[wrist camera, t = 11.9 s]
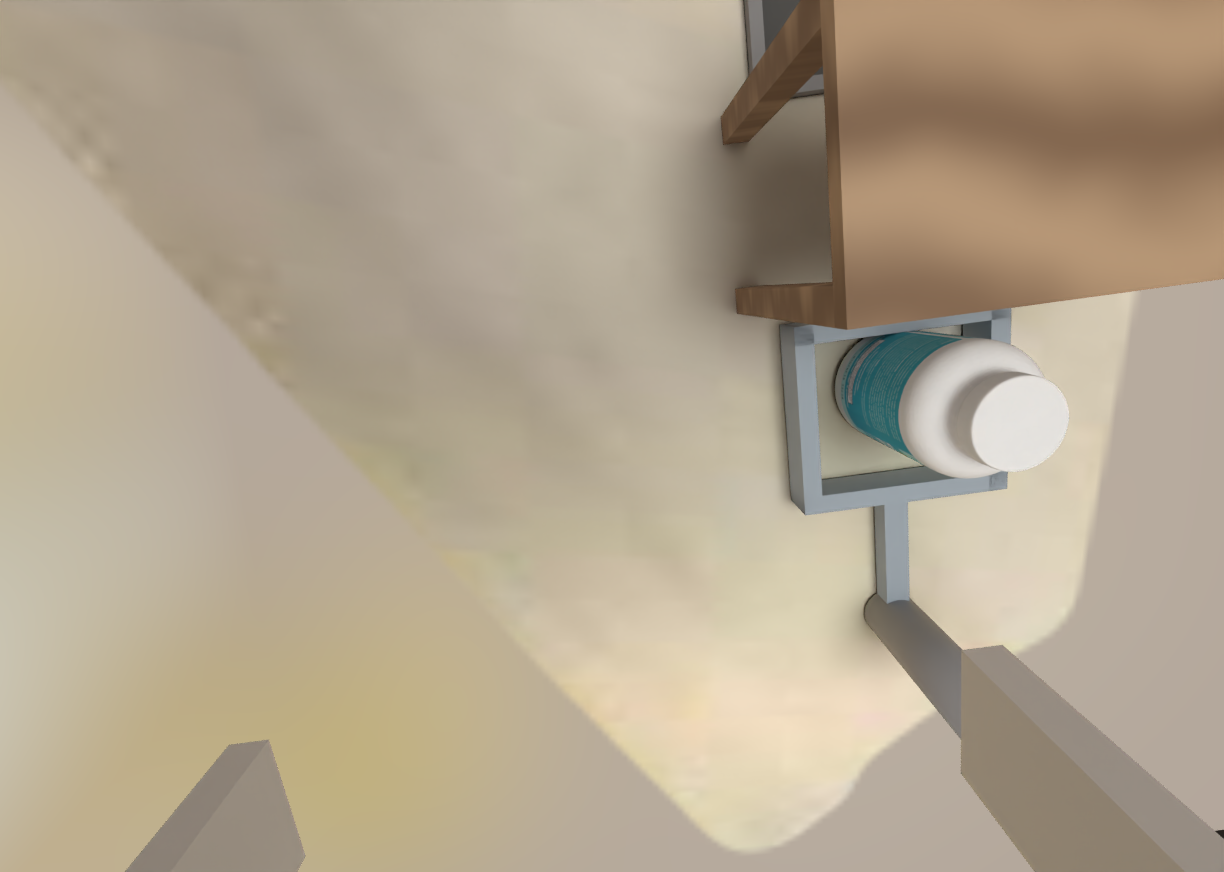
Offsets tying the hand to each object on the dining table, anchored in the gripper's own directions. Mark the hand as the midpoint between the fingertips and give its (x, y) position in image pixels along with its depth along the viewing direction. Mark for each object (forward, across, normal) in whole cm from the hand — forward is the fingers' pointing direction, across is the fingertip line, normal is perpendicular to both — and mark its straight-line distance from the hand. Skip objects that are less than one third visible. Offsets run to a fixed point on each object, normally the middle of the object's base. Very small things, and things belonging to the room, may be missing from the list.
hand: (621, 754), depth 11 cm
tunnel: (+31, +19, +12) cm, 38 cm away
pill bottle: (+31, +19, 0) cm, 36 cm away
